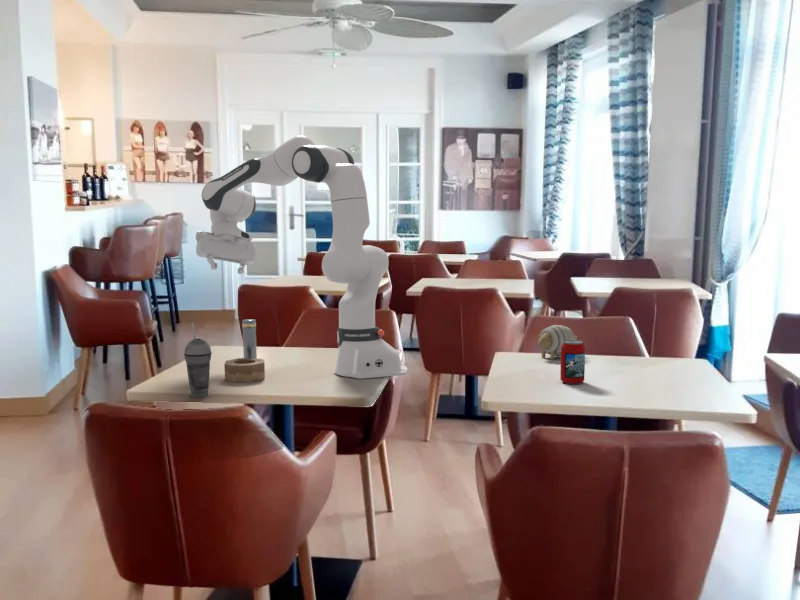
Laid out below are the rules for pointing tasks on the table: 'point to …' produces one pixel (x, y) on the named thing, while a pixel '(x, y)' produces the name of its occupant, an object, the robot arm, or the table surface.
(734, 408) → the table surface
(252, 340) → the gold-banded metal cylinder
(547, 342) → the toy sheep
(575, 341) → the beverage can
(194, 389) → the beverage cup
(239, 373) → the wooden octagonal ring
